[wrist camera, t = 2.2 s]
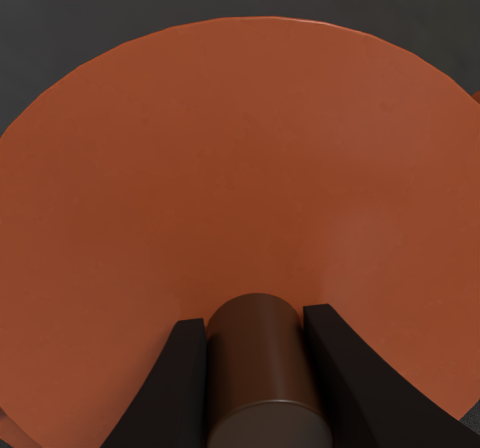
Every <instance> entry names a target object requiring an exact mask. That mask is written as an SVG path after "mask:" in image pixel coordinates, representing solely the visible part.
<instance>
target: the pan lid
mask: <svg viewBox="0 0 480 448" xmlns="http://www.w3.org/2000/svg"><path fill="white" fill-rule="evenodd" d="M327 303H328V304H330V305H331V306H332V307H333V308H334V309H335V310H336V311H337V312H338V314H339V315H340V316H341V317H342V318H343V319H344V320H345V321H346V322H347V323H348V324H349V325H350V327H351V328H352V329H353V330H354V331H355V332H356V333H357V334H358V335H359V336H360V337H361V338H362V339H363V340H364V341H365V342H366V343H367V344H368V345H369V346H370V347H371V348H372V349H373V350H374V351H375V352H376V353H378V354H379V355H380V356H381V357H382V358H383V359H384V360H385V361H386V362H387V363H388V364H389V365H390V366H391V367H392V368H394V369H395V370H396V371H397V372H398V373H399V374H400V375H401V376H403V377H404V378H405V379H406V380H407V381H408V382H410V383H411V384H412V385H413V386H414V387H416V388H417V389H418V390H419V391H420V392H422V393H423V394H424V395H425V396H426V397H428V398H429V399H430V400H431V401H433V402H434V403H435V404H437V405H438V406H439V407H440V408H442V409H443V410H444V411H446V412H447V413H448V414H450V415H451V416H452V417H454V418H455V419H457V420H458V421H459V420H460V419H461V418H462V417H463V416H464V415H465V414H466V413H467V412H468V411H469V410H470V409H471V408H472V407H473V406H474V405H475V404H476V403H477V401H478V400H479V399H480V104H479V103H478V102H476V101H475V100H474V99H473V98H472V97H471V96H470V95H469V94H468V93H467V92H466V91H464V90H463V89H462V88H461V87H460V86H459V85H458V84H457V83H456V82H455V81H454V80H452V79H451V78H450V77H449V76H447V75H446V74H444V73H443V72H441V71H440V70H438V69H437V68H435V67H434V66H432V65H431V64H429V63H428V62H426V61H424V60H423V59H421V58H420V57H418V56H417V55H415V54H414V53H412V52H410V51H407V50H405V49H403V48H401V47H398V46H396V45H394V44H392V43H389V42H387V41H385V40H383V39H380V38H378V37H376V36H374V35H371V34H368V33H364V32H361V31H357V30H353V29H350V28H346V27H342V26H338V25H335V24H331V23H327V22H324V21H315V20H306V19H298V18H289V17H280V16H252V17H222V18H217V19H211V20H206V21H200V22H195V23H189V24H184V25H178V26H173V27H169V28H166V29H163V30H160V31H157V32H154V33H151V34H149V35H146V36H143V37H140V38H137V39H134V40H131V41H128V42H125V43H122V44H121V45H119V46H117V47H115V48H113V49H111V50H109V51H107V52H105V53H103V54H101V55H99V56H97V57H95V58H93V59H91V60H89V61H87V62H85V63H84V64H82V65H80V66H78V67H77V68H76V69H74V70H73V71H71V72H70V73H69V74H67V75H66V76H64V77H63V78H62V79H60V80H59V81H58V82H56V83H55V84H53V85H52V86H51V87H49V88H48V89H47V90H45V91H44V92H42V93H41V94H40V95H39V96H38V97H37V98H36V99H35V100H34V101H33V102H32V103H31V104H30V105H29V106H28V107H27V108H26V109H25V110H24V111H23V112H22V113H21V114H20V115H19V116H18V117H17V118H16V119H15V120H14V121H13V122H12V123H11V124H10V125H9V126H8V128H7V129H6V130H5V132H4V133H3V135H2V136H1V137H0V407H1V408H2V409H3V411H4V412H5V413H6V415H7V416H8V417H9V418H10V419H11V420H12V421H13V422H14V423H15V424H16V425H17V426H18V427H19V428H20V429H21V430H22V431H23V432H24V433H25V434H26V435H27V436H29V437H30V438H31V439H33V440H34V441H35V442H36V443H38V444H39V445H40V446H41V447H43V448H100V446H101V445H102V444H103V442H104V441H105V440H106V438H107V437H108V435H109V434H110V433H111V431H112V430H113V429H114V427H115V426H116V424H117V423H118V421H119V420H120V418H121V417H122V415H123V414H124V412H125V411H126V409H127V408H128V406H129V405H130V403H131V402H132V400H133V399H134V397H135V396H136V394H137V393H138V391H139V389H140V388H141V386H142V384H143V383H144V381H145V379H146V377H147V376H148V374H149V372H150V371H151V369H152V367H153V366H154V364H155V362H156V360H157V358H158V356H159V355H160V353H161V351H162V349H163V347H164V345H165V343H166V341H167V339H168V337H169V335H170V333H171V331H172V329H173V326H174V325H175V323H176V322H177V321H179V320H188V319H197V318H203V319H204V325H205V332H206V338H207V385H206V440H205V448H334V443H335V433H334V429H333V426H332V422H331V419H330V416H329V412H328V409H327V406H326V402H325V399H324V396H323V392H322V389H321V386H320V383H319V379H318V376H317V373H316V369H315V366H314V363H313V359H312V356H311V353H310V349H309V346H308V343H307V339H306V336H305V333H304V322H303V306H309V305H318V304H327Z"/></svg>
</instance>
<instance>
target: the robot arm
mask: <svg viewBox="0 0 480 448" xmlns="http://www.w3.org/2000/svg"><path fill="white" fill-rule="evenodd" d="M303 322H304V333H305V336H306V339H307V343H308V346H309V349H310V353H311V356H312V359H313V363H314V366H315V369H316V373H317V376H318V379H319V383H320V386H321V389H322V392H323V396H324V399H325V402H326V406H327V409H328V412H329V416H330V419H331V422H332V426H333V429H334V433H335V443H334V448H480V436H479V435H478V434H476V433H475V432H473V431H472V430H470V429H469V428H468V427H466V426H465V425H463V424H462V423H461V422H459V421H458V420H457V419H455V418H454V417H452V416H451V415H450V414H448V413H447V412H446V411H444V410H443V409H442V408H440V407H439V406H438V405H437V404H435V403H434V402H433V401H431V400H430V399H429V398H428V397H426V396H425V395H424V394H423V393H422V392H420V391H419V390H418V389H417V388H416V387H414V386H413V385H412V384H411V383H410V382H408V381H407V380H406V379H405V378H404V377H403V376H401V375H400V374H399V373H398V372H397V371H396V370H395V369H394V368H392V367H391V366H390V365H389V364H388V363H387V362H386V361H385V360H384V359H383V358H382V357H381V356H380V355H379V354H378V353H376V352H375V351H374V350H373V349H372V348H371V347H370V346H369V345H368V344H367V343H366V342H365V341H364V340H363V339H362V338H361V337H360V336H359V335H358V334H357V333H356V332H355V331H354V330H353V329H352V328H351V327H350V325H349V324H348V323H347V322H346V321H345V320H344V319H343V318H342V317H341V316H340V315H339V314H338V312H337V311H336V310H335V309H334V308H333V307H332V306H331V305H330V304H328V303H327V304H318V305H309V306H303ZM206 385H207V338H206V332H205V325H204V319H203V318H197V319H188V320H179V321H177V322H176V323H175V325H174V326H173V329H172V331H171V333H170V335H169V337H168V339H167V341H166V343H165V345H164V347H163V349H162V351H161V353H160V355H159V356H158V358H157V360H156V362H155V364H154V366H153V367H152V369H151V371H150V372H149V374H148V376H147V377H146V379H145V381H144V383H143V384H142V386H141V388H140V389H139V391H138V393H137V394H136V396H135V397H134V399H133V400H132V402H131V403H130V405H129V406H128V408H127V409H126V411H125V412H124V414H123V415H122V417H121V418H120V420H119V421H118V423H117V424H116V426H115V427H114V429H113V430H112V431H111V433H110V434H109V435H108V437H107V438H106V440H105V441H104V442H103V444H102V445H101V446H100V448H205V440H206Z"/></svg>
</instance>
